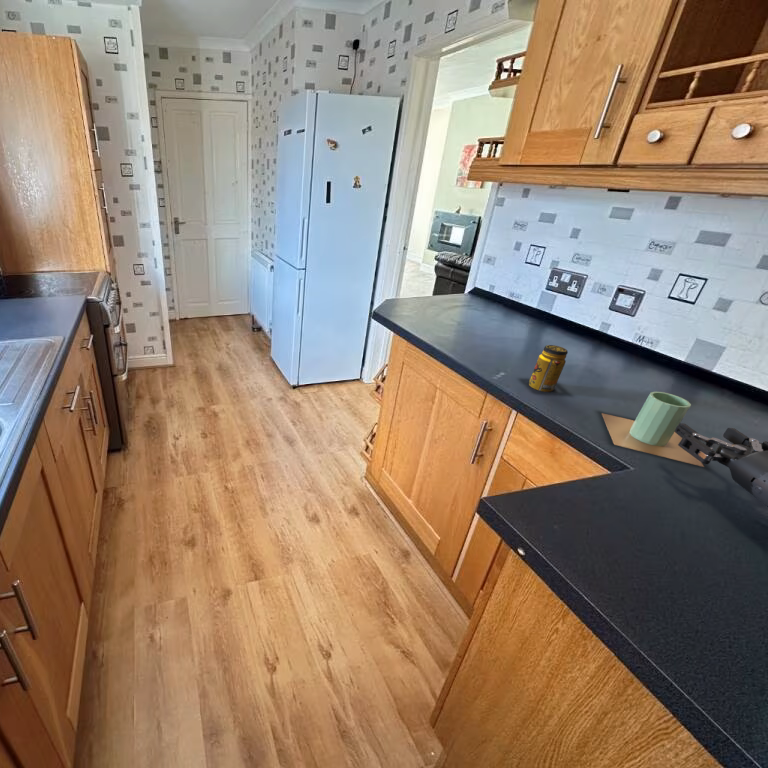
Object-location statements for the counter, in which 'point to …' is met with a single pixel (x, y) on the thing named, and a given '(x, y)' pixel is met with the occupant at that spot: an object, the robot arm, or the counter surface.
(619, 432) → the mat
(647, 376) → the counter surface
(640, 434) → the cup
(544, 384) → the condiment
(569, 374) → the counter surface
